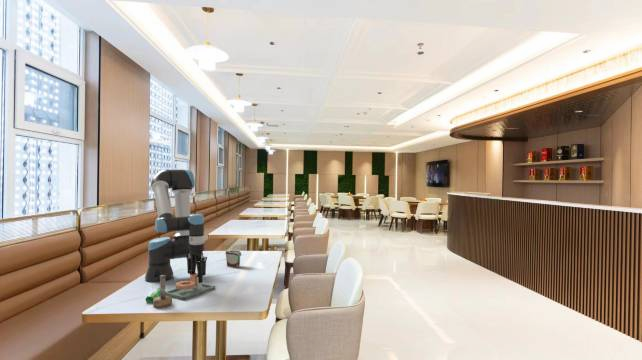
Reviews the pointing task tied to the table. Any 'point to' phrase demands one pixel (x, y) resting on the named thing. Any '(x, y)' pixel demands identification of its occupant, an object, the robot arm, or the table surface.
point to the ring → (188, 283)
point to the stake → (162, 296)
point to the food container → (233, 258)
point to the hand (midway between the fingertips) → (196, 287)
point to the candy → (153, 296)
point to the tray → (189, 292)
